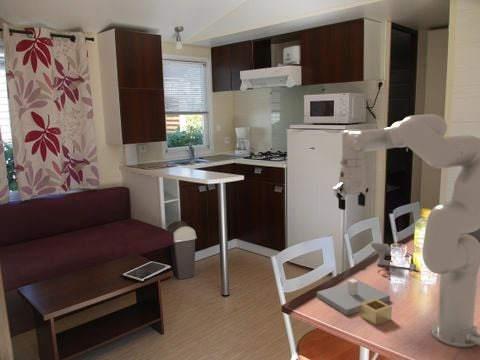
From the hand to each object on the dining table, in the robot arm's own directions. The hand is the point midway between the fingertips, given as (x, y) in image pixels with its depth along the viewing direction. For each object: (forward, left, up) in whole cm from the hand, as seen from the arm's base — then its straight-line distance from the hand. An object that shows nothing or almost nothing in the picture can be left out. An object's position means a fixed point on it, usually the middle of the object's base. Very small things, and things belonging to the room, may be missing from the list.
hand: (351, 207), depth 158 cm
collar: (-25, +12, -31) cm, 41 cm away
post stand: (-11, +9, -31) cm, 34 cm away
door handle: (+5, -30, -31) cm, 44 cm away
